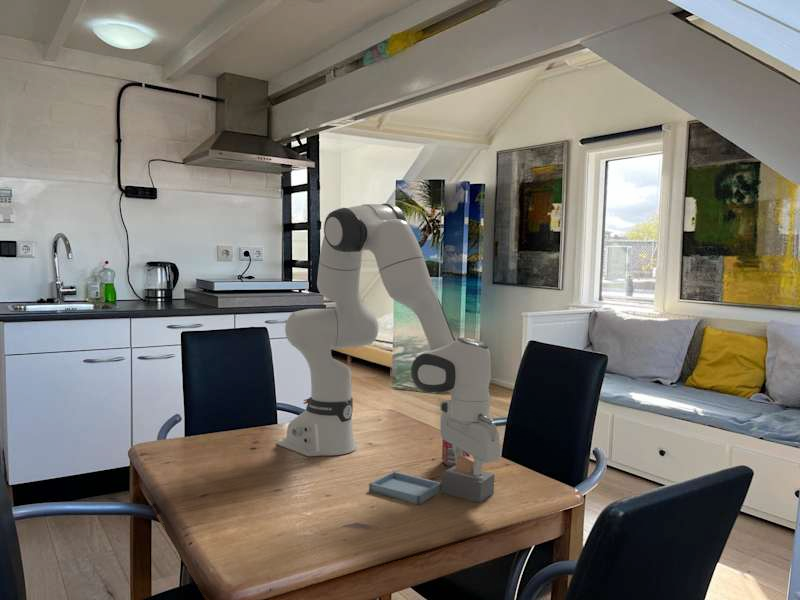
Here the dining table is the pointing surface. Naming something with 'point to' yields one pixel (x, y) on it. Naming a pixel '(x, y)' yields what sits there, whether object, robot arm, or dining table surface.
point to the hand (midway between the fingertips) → (467, 469)
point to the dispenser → (467, 485)
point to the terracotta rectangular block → (464, 464)
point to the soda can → (449, 454)
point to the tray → (405, 487)
